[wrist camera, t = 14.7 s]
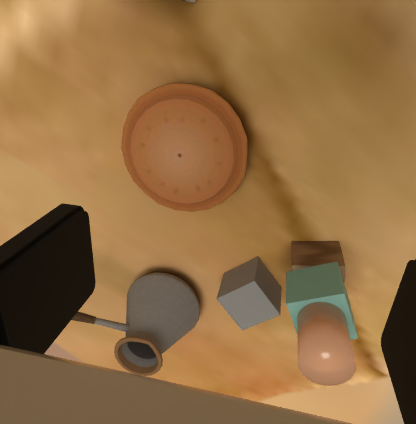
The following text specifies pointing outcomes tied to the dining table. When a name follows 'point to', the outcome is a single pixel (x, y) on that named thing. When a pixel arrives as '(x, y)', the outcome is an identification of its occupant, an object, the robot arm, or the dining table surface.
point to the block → (250, 294)
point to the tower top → (318, 291)
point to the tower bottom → (316, 254)
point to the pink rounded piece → (324, 344)
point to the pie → (185, 147)
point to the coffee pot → (151, 321)
